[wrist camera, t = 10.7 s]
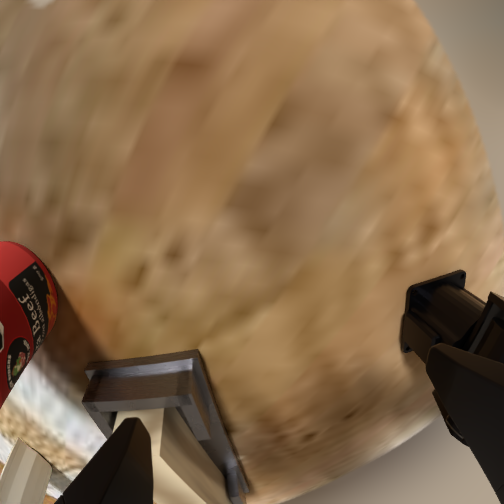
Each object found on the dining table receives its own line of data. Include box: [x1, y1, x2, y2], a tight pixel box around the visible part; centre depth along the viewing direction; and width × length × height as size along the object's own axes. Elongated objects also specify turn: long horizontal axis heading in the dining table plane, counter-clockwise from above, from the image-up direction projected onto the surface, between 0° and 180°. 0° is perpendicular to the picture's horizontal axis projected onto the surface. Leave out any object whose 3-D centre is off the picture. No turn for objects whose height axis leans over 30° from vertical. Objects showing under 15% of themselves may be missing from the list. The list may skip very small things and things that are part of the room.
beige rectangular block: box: [113, 407, 233, 504], centre depth 20 cm, size 4×16×6 cm, turn 15°
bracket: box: [82, 349, 249, 504], centre depth 22 cm, size 9×22×4 cm, turn 9°
